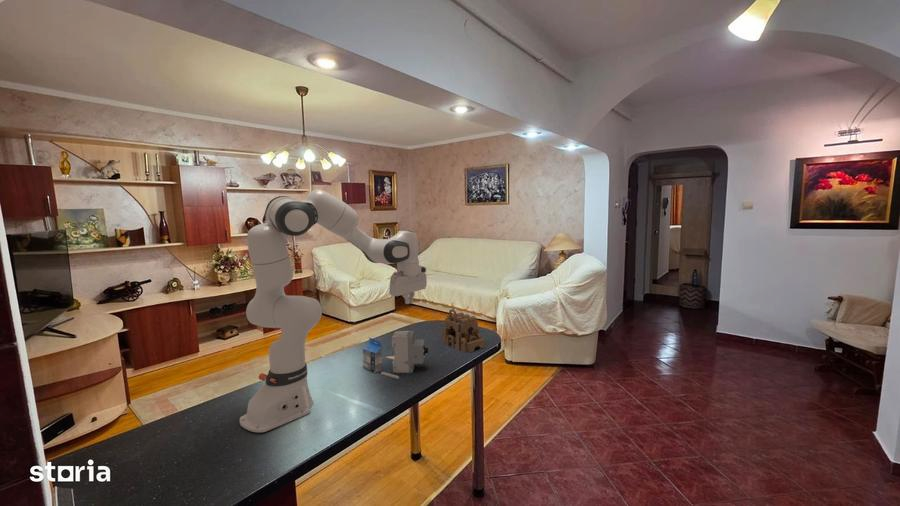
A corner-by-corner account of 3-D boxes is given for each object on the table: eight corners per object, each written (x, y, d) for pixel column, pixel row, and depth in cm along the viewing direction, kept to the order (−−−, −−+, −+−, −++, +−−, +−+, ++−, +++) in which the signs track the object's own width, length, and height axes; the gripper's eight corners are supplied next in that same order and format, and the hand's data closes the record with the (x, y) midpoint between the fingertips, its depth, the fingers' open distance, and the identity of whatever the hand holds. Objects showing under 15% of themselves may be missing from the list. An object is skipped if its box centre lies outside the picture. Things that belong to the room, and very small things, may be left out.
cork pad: (400, 361, 157) (400, 360, 157) (383, 357, 162) (383, 356, 162) (410, 356, 162) (410, 355, 162) (393, 352, 168) (393, 351, 168)
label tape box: (362, 367, 151) (361, 339, 150) (370, 364, 154) (369, 337, 153) (375, 373, 145) (373, 344, 144) (383, 370, 148) (382, 341, 147)
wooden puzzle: (487, 346, 173) (487, 309, 171) (465, 354, 164) (464, 314, 162) (458, 335, 190) (458, 301, 188) (436, 342, 181) (435, 306, 179)
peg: (397, 379, 139) (397, 377, 139) (380, 374, 144) (380, 372, 144) (399, 378, 140) (399, 375, 140) (382, 373, 145) (382, 370, 145)
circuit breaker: (427, 372, 145) (426, 336, 144) (392, 372, 145) (391, 337, 144) (429, 364, 152) (428, 330, 151) (396, 365, 153) (394, 331, 151)
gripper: (397, 273, 135) (398, 309, 136) (428, 267, 152) (429, 299, 153) (385, 272, 138) (386, 307, 139) (417, 267, 155) (417, 298, 156)
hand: (409, 303), depth 146 cm, fingers closed
